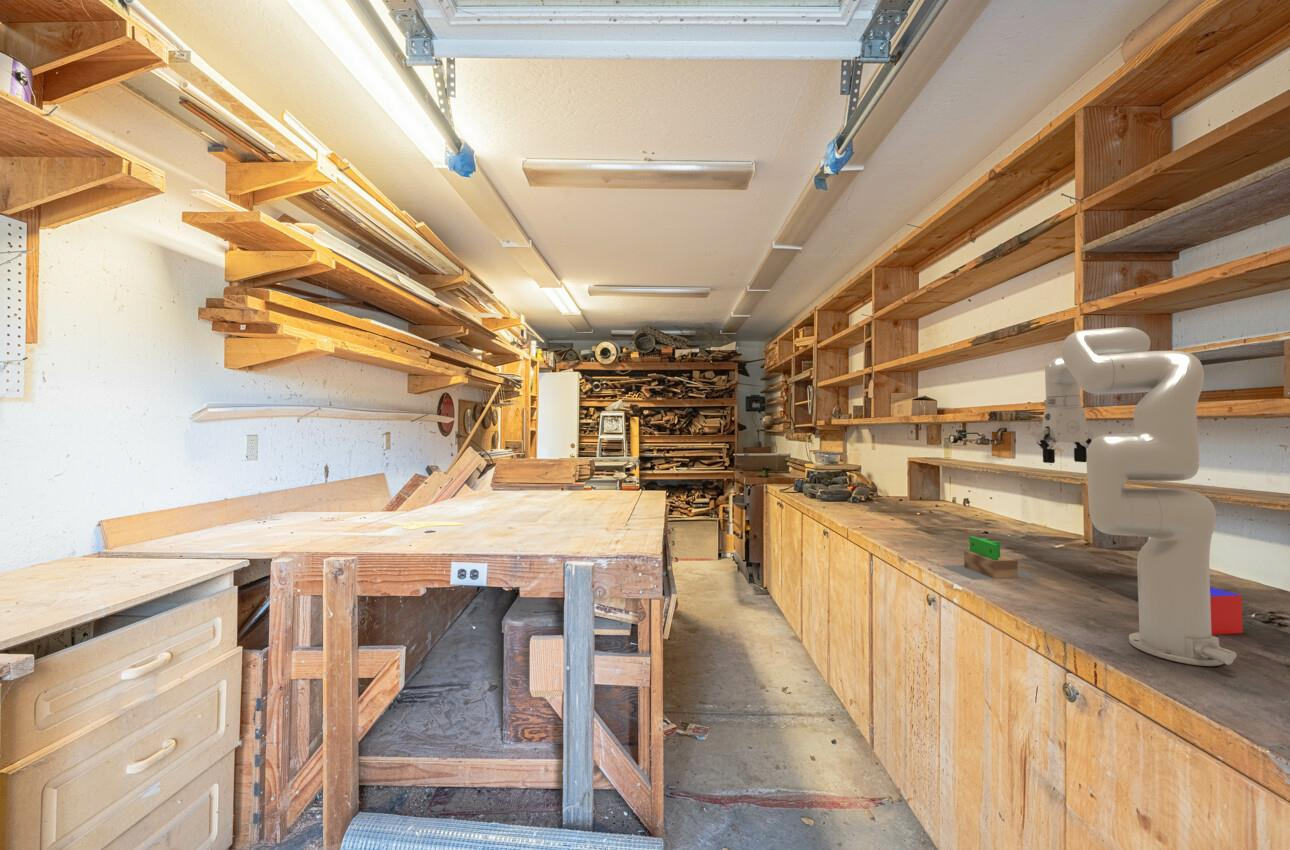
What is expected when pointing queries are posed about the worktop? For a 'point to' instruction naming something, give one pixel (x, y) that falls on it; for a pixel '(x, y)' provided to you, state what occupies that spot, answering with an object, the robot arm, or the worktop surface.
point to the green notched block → (985, 547)
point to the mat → (977, 576)
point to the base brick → (991, 565)
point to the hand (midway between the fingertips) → (1064, 462)
